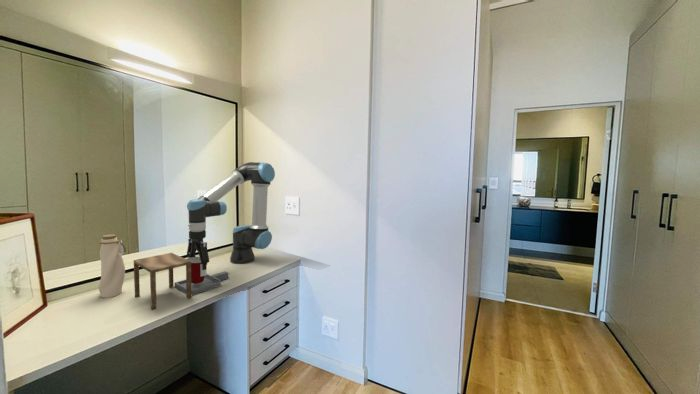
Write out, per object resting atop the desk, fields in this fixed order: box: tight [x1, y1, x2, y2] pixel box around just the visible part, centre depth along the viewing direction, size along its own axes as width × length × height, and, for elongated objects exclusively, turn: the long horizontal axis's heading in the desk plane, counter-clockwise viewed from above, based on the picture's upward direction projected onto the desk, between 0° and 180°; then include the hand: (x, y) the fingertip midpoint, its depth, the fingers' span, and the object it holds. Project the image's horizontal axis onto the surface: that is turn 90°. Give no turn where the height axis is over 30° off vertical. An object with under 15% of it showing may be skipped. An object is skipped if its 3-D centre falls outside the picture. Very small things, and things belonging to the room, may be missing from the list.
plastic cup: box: [186, 256, 209, 284], centre depth 146 cm, size 11×11×12 cm
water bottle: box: [98, 233, 127, 298], centre depth 134 cm, size 10×9×28 cm
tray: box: [174, 271, 229, 296], centre depth 150 cm, size 24×16×3 cm, turn 144°
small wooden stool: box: [133, 252, 192, 311], centre depth 133 cm, size 16×20×17 cm
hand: (197, 272), depth 146 cm, fingers closed on plastic cup, 10 cm apart
